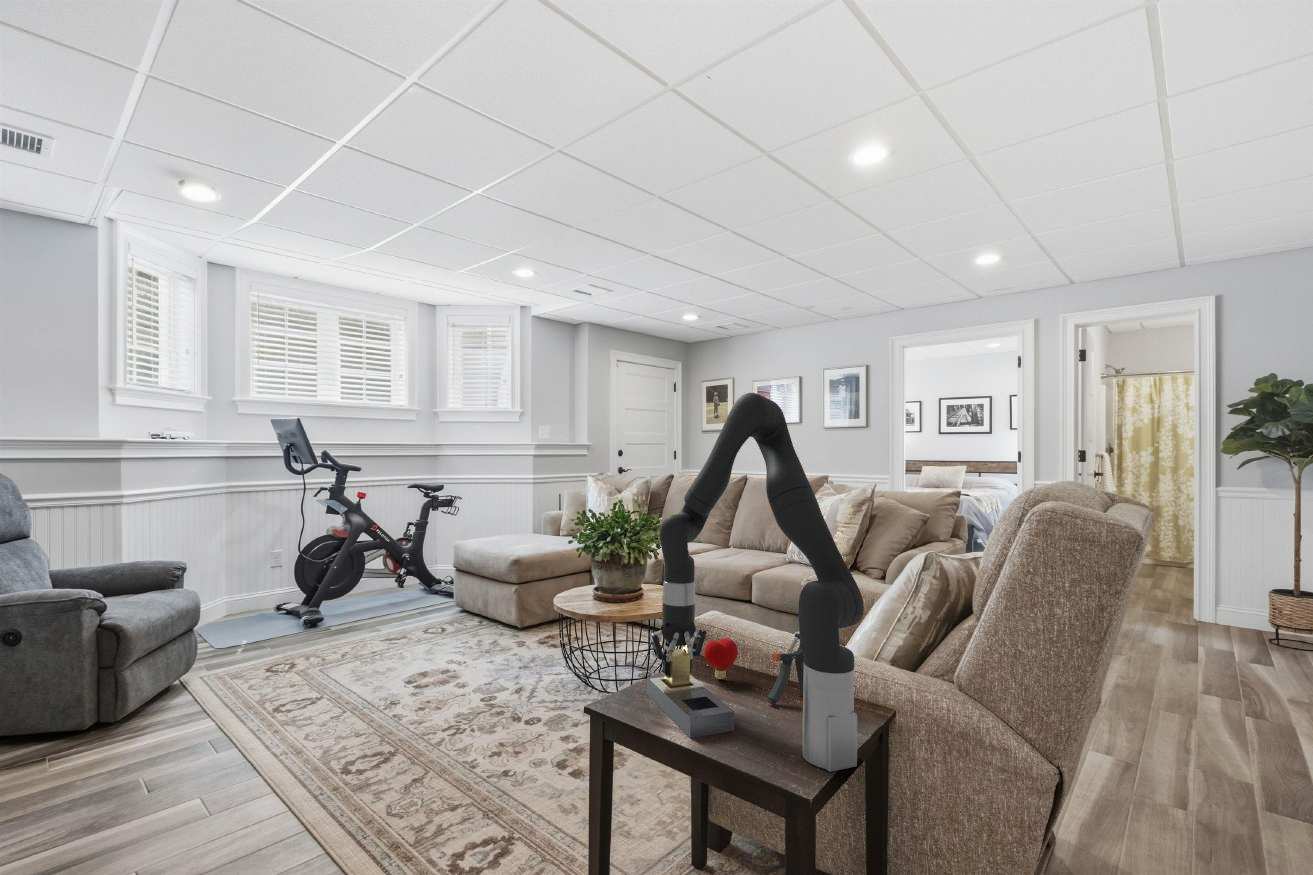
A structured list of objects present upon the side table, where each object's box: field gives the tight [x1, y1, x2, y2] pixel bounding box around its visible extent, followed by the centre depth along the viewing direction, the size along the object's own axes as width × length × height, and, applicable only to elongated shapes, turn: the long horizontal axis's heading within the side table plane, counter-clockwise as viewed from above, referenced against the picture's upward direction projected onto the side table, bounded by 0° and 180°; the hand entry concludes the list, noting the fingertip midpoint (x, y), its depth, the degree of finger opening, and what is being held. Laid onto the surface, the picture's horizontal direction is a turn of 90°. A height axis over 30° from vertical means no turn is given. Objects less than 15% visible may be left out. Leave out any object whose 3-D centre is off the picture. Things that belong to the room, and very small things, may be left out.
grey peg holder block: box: [646, 674, 736, 739], centre depth 136 cm, size 24×10×4 cm, turn 22°
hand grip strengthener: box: [766, 632, 804, 706], centre depth 143 cm, size 2×13×15 cm, turn 123°
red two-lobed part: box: [703, 637, 739, 681], centre depth 156 cm, size 9×7×10 cm
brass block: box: [663, 648, 691, 688], centre depth 141 cm, size 4×4×10 cm
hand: (677, 675), depth 141 cm, fingers closed on brass block, 4 cm apart
